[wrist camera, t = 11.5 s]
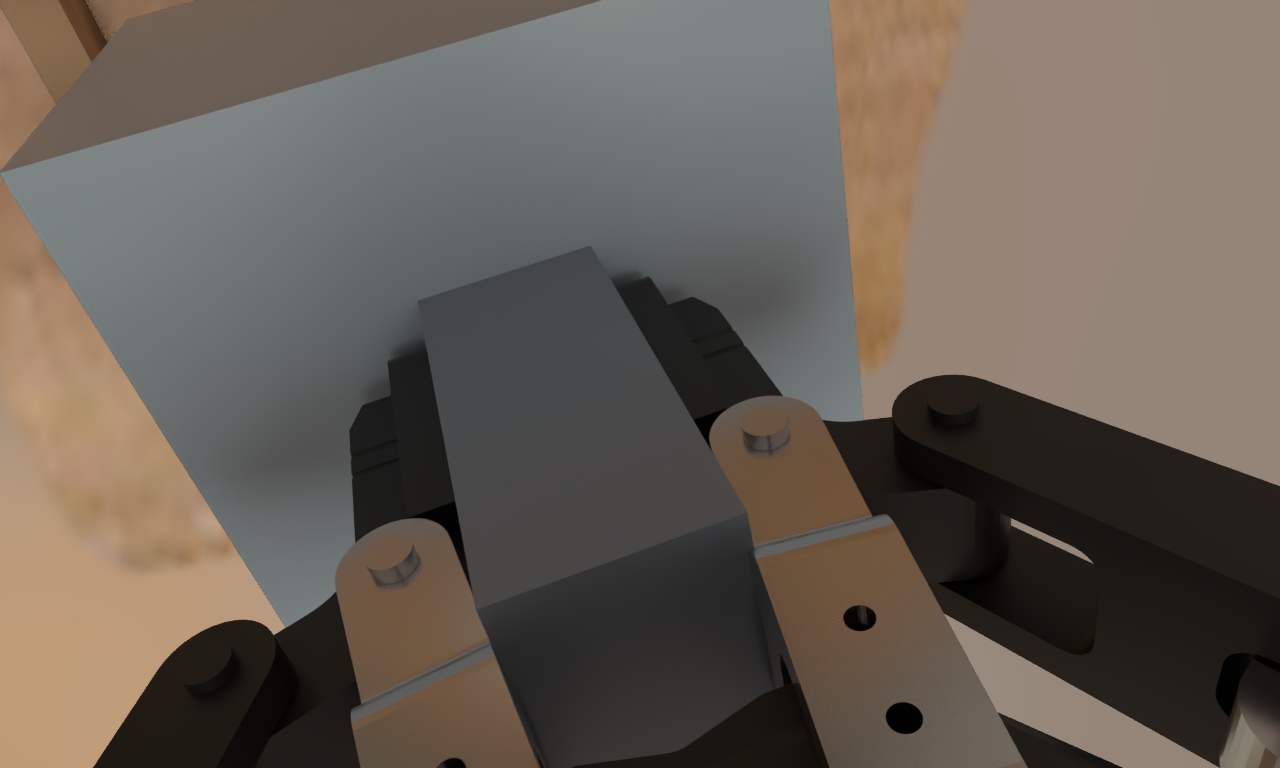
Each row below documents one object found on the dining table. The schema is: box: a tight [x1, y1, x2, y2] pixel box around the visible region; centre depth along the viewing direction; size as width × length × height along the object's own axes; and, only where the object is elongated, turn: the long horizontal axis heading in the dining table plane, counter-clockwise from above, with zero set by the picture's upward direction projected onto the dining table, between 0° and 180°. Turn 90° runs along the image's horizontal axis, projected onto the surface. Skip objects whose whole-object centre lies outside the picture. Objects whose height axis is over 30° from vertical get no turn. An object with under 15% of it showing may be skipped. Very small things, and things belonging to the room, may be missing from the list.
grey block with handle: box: [0, 0, 864, 768], centre depth 15 cm, size 10×10×15 cm
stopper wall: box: [0, 0, 107, 104], centre depth 30 cm, size 14×2×2 cm, turn 12°
